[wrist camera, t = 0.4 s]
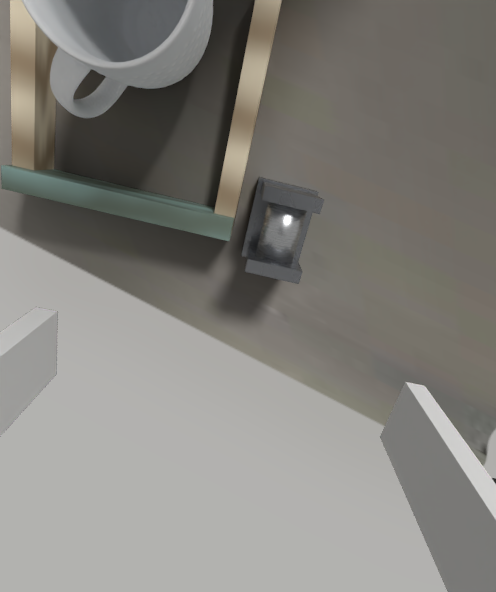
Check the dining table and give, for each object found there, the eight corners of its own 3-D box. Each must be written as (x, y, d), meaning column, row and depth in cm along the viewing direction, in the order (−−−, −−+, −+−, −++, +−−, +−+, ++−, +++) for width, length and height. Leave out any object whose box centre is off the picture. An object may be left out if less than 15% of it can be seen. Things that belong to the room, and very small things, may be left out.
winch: (259, 177, 36) (260, 181, 29) (316, 191, 36) (330, 198, 29) (241, 252, 39) (238, 272, 32) (294, 264, 39) (303, 287, 32)
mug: (150, 160, 36) (96, 161, 23) (54, 78, 33) (-62, 31, 21) (247, 23, 31) (242, -63, 19) (144, -83, 29) (65, -258, 17)
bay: (36, -76, 29) (-6, -120, 25) (283, -6, 31) (288, -36, 26) (33, 184, 37) (1, 188, 32) (232, 231, 38) (229, 241, 33)
